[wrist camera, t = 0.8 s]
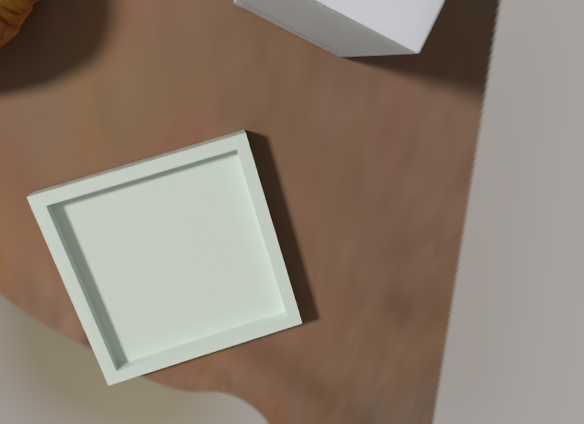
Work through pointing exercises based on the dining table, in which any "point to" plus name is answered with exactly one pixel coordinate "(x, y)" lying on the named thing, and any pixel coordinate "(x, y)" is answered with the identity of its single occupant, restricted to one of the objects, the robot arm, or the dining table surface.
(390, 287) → the dining table surface
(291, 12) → the supplement box
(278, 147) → the dining table surface
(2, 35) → the croissant
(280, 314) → the pale green square tray
